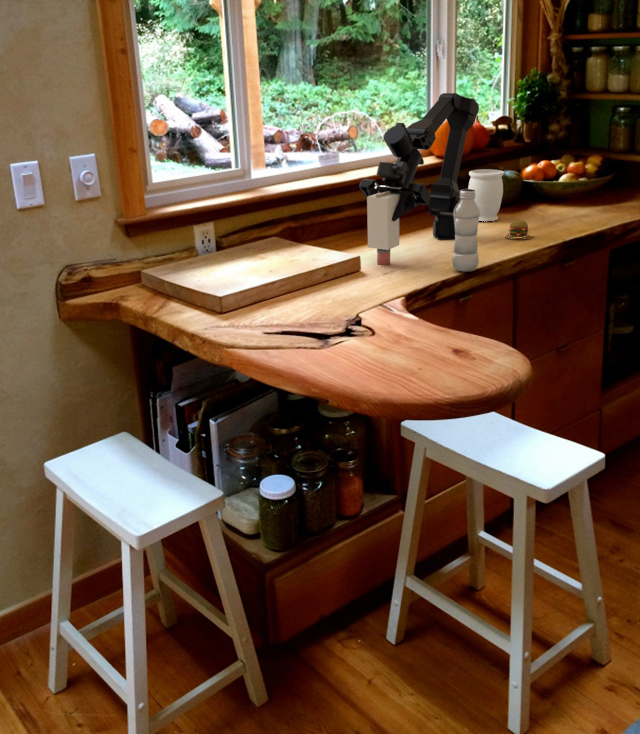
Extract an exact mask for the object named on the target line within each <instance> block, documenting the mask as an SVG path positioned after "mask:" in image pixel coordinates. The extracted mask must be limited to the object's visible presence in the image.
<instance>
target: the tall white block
mask: <svg viewBox="0 0 640 734" xmlns="http://www.w3.org/2000/svg"><path fill="white" fill-rule="evenodd" d="M399 200H400V196H399V195H397V194H390V191H386V192H383V193H377V194H374V195H371V196H368V197H367V198H366V203H367V204H366V213H367V214H366V215H367V248H372V249H376V250H377V249H384V250H389V249H390V250H392V249H394V248H397V247H399V246H400V218H398V219H397V220H396V221H392V216H393V213H394V211H395V209H396V207H397V205H398V202H399Z"/></svg>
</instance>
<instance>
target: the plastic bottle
mask: <svg viewBox="0 0 640 734" xmlns="http://www.w3.org/2000/svg"><path fill="white" fill-rule="evenodd" d="M459 191H460V196H459V198H460V201H459V202H458V204H457V205H456V207H455V208H454V212H453V216H454V224H455V239H454V246H453V247H454V248H453V254H452V258H451V259H452V260H451V263H452V267H453V269H454V270H455V271H458V272H465V273H468V272H469V273H470V272H474V271H476V269H478V267H479V264H480V263H479V262H480V261H479V253H478V229H479V228H478V227H479V223H480V222H479V216H480V210H479V207H478V205H477V204H476V202H475V201H474V198H475V190H474V189H468V188H464V189H459Z"/></svg>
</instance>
